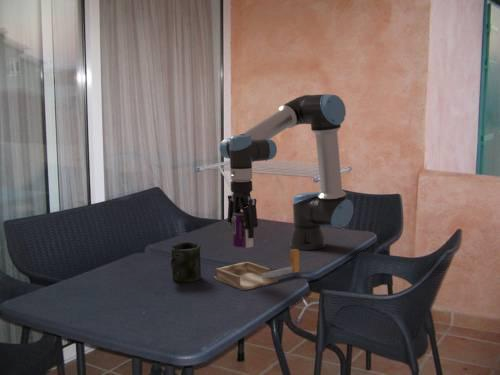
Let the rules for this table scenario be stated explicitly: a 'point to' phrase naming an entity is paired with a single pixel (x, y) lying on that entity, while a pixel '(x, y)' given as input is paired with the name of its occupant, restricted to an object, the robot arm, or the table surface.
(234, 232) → the beverage can
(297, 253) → the lock bar
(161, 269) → the table surface
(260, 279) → the wooden tray
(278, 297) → the table surface
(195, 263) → the mug
